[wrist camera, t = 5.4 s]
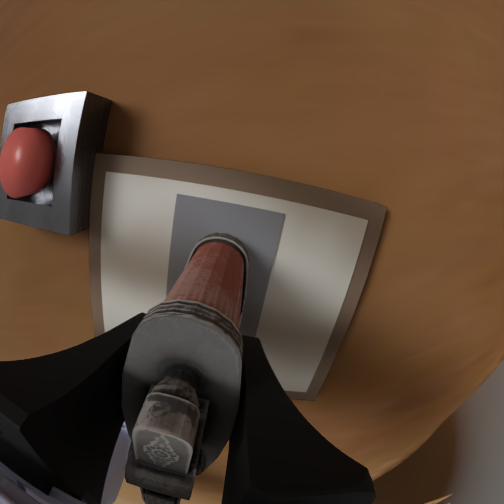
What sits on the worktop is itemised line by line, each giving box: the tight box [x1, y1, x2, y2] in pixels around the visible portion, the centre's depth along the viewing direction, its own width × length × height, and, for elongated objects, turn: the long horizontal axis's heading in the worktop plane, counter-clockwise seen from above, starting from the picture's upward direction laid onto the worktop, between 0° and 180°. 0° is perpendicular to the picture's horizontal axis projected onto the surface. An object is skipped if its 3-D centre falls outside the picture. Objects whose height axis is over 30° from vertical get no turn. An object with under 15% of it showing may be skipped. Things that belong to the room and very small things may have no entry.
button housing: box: [0, 91, 112, 236], centre depth 11 cm, size 7×7×2 cm
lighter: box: [122, 232, 249, 504], centre depth 9 cm, size 8×3×10 cm, turn 165°
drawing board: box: [89, 153, 387, 401], centre depth 14 cm, size 13×15×1 cm
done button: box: [0, 127, 56, 198], centre depth 10 cm, size 4×4×2 cm
